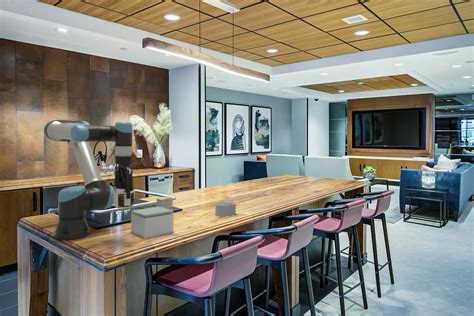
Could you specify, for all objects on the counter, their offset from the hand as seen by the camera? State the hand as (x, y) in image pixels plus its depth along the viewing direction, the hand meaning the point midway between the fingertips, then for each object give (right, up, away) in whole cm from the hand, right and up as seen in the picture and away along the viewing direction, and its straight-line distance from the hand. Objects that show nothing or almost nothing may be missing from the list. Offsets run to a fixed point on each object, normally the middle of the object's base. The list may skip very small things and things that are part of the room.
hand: (123, 203), depth 159 cm
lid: (+10, -6, +13) cm, 18 cm away
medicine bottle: (0, -1, 0) cm, 1 cm away
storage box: (+10, -16, +13) cm, 23 cm away
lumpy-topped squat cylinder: (+45, -14, +55) cm, 73 cm away
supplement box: (+11, -15, +39) cm, 43 cm away
